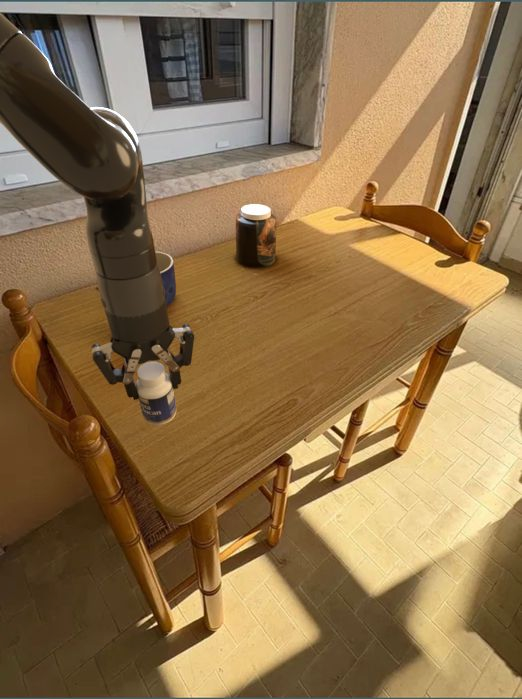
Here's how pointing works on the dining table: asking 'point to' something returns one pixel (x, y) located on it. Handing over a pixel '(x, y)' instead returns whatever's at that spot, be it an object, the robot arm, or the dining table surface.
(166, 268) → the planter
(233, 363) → the dining table surface
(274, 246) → the jar
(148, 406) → the pill bottle
